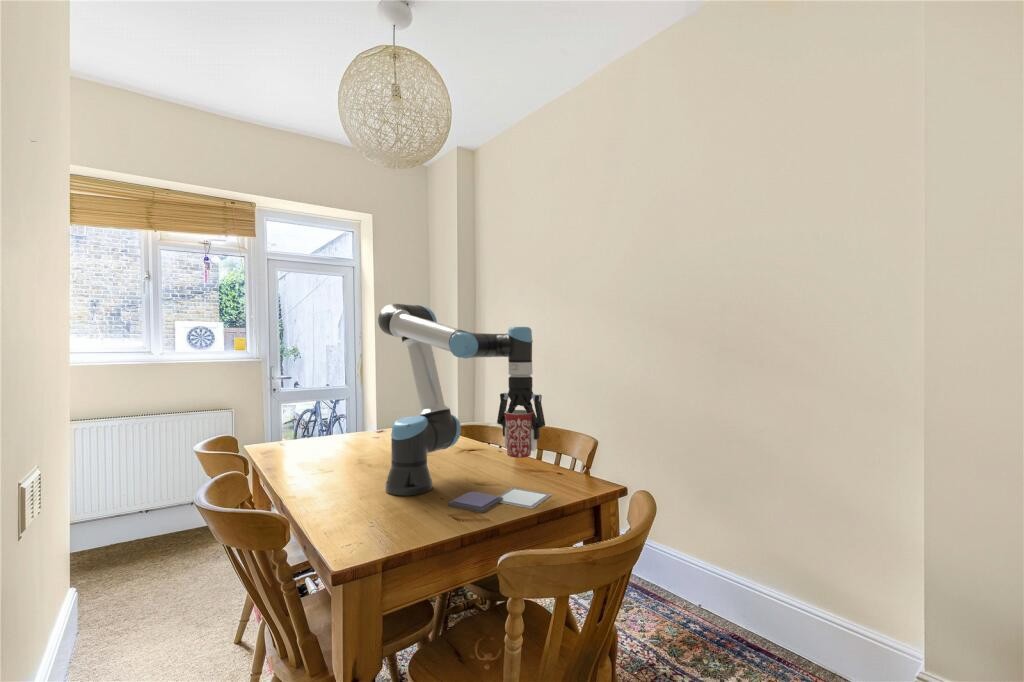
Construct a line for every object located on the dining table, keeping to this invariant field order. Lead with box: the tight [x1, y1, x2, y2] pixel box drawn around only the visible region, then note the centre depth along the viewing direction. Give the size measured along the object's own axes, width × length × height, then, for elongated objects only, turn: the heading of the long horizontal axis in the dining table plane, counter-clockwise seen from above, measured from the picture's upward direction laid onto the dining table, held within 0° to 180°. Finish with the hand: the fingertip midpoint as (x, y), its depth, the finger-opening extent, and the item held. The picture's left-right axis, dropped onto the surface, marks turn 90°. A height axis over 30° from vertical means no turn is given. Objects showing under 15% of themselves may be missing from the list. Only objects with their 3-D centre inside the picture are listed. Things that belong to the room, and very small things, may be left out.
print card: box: [498, 487, 552, 510], centre depth 145 cm, size 14×14×1 cm
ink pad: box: [447, 491, 503, 514], centre depth 140 cm, size 12×12×1 cm
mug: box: [505, 409, 535, 459], centre depth 145 cm, size 13×9×14 cm
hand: (520, 448), depth 145 cm, fingers closed on mug, 8 cm apart
